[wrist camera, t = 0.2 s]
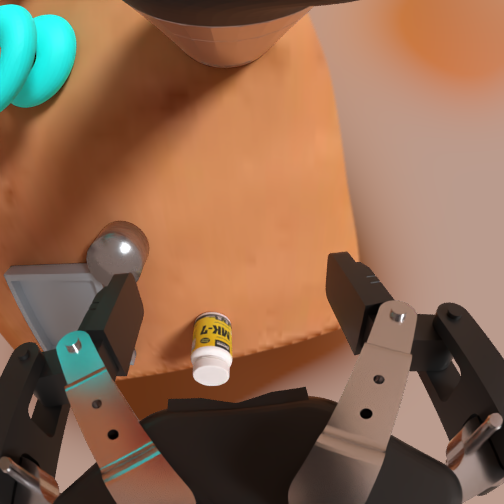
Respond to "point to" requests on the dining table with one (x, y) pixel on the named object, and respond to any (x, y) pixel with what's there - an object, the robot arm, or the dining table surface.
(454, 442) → the robot arm
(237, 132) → the dining table surface
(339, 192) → the dining table surface
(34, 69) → the donuts
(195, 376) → the supplement bottle
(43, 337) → the grey tray
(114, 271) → the short metal canister
